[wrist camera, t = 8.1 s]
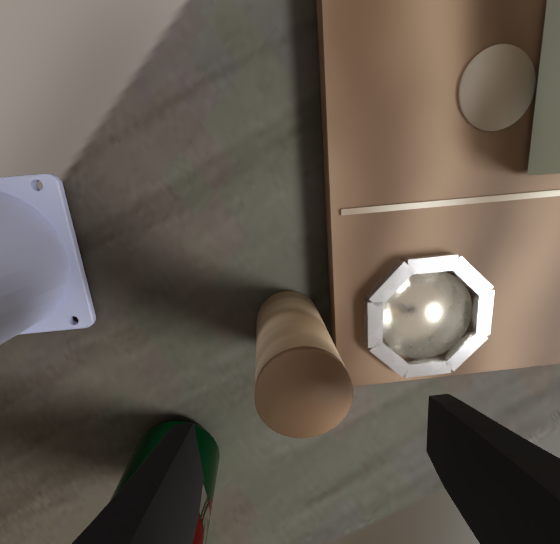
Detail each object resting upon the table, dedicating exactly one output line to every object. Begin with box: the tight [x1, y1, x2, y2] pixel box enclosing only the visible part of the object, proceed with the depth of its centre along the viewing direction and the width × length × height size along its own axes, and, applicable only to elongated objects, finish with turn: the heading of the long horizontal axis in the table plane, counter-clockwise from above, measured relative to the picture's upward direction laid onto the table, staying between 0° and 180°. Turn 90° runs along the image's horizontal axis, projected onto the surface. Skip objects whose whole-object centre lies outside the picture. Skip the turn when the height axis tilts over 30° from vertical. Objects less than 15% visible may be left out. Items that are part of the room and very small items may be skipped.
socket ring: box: [364, 253, 494, 378], centre depth 17 cm, size 7×7×1 cm
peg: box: [255, 291, 353, 438], centre depth 15 cm, size 4×4×7 cm
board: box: [316, 0, 560, 386], centre depth 16 cm, size 16×20×1 cm
